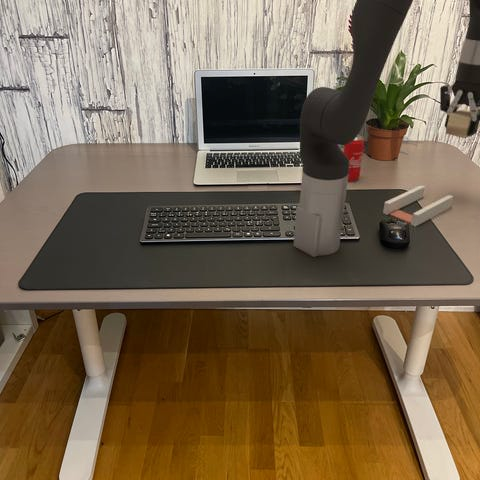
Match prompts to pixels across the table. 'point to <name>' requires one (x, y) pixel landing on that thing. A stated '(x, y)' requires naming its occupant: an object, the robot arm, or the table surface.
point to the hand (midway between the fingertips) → (459, 132)
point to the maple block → (459, 123)
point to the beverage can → (354, 157)
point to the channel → (419, 215)
